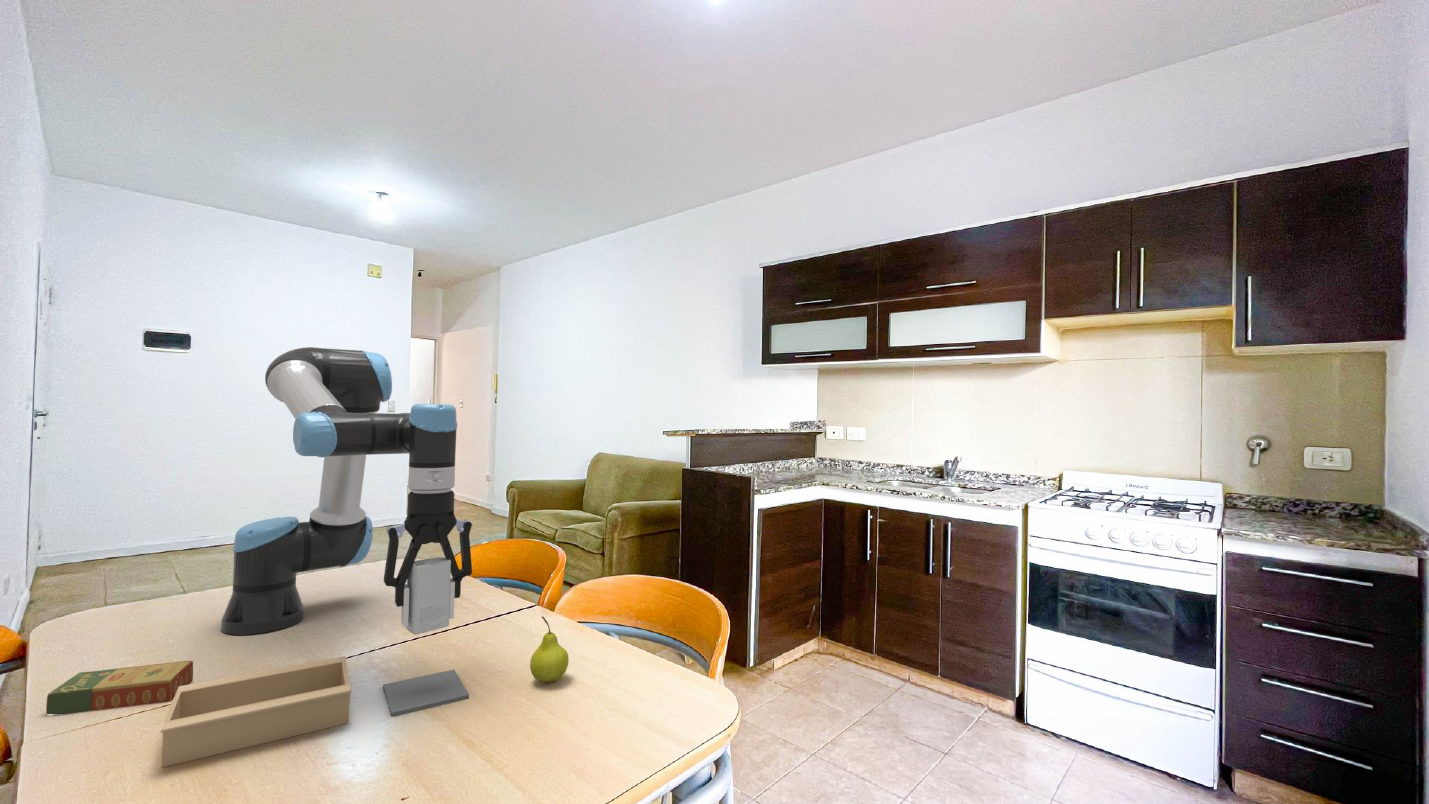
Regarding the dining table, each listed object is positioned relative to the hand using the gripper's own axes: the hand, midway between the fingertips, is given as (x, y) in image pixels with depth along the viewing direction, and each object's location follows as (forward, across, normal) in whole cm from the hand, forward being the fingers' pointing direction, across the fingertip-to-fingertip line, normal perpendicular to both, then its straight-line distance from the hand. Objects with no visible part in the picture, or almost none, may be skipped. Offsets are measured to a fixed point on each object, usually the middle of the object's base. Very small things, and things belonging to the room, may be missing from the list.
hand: (427, 619), depth 107 cm
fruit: (+13, +20, -7) cm, 25 cm away
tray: (+13, -23, +1) cm, 26 cm away
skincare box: (+2, 0, 0) cm, 2 cm away
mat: (+13, 0, 0) cm, 13 cm away
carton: (+13, -43, +25) cm, 51 cm away
